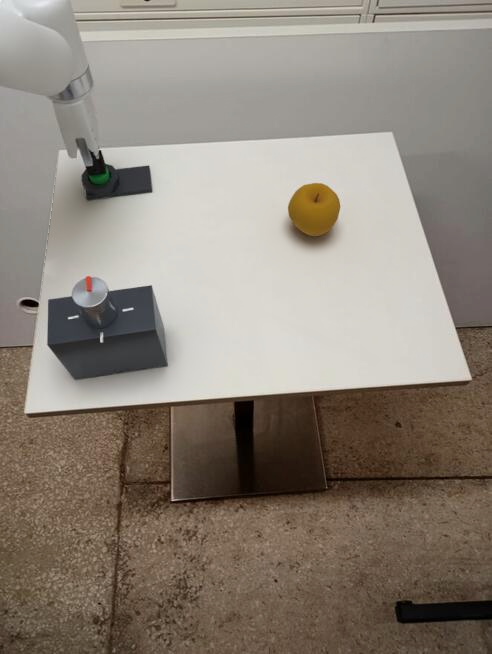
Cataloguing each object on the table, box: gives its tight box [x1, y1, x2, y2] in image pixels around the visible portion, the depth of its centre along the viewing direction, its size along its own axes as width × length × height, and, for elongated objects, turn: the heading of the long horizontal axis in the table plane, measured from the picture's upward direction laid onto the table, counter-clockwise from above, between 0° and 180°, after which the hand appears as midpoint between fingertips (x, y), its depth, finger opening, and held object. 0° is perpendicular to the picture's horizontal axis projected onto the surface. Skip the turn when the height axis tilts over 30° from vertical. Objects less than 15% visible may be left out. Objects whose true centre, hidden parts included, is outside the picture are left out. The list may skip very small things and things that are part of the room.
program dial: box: [71, 275, 117, 328], centre depth 64 cm, size 4×4×6 cm
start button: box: [89, 167, 110, 185], centre depth 91 cm, size 4×4×2 cm
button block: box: [81, 163, 153, 201], centre depth 92 cm, size 12×6×2 cm, turn 100°
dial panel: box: [46, 284, 169, 381], centre depth 72 cm, size 14×9×12 cm, turn 100°
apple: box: [287, 182, 341, 237], centre depth 85 cm, size 8×8×9 cm
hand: (97, 171), depth 90 cm, fingers closed
